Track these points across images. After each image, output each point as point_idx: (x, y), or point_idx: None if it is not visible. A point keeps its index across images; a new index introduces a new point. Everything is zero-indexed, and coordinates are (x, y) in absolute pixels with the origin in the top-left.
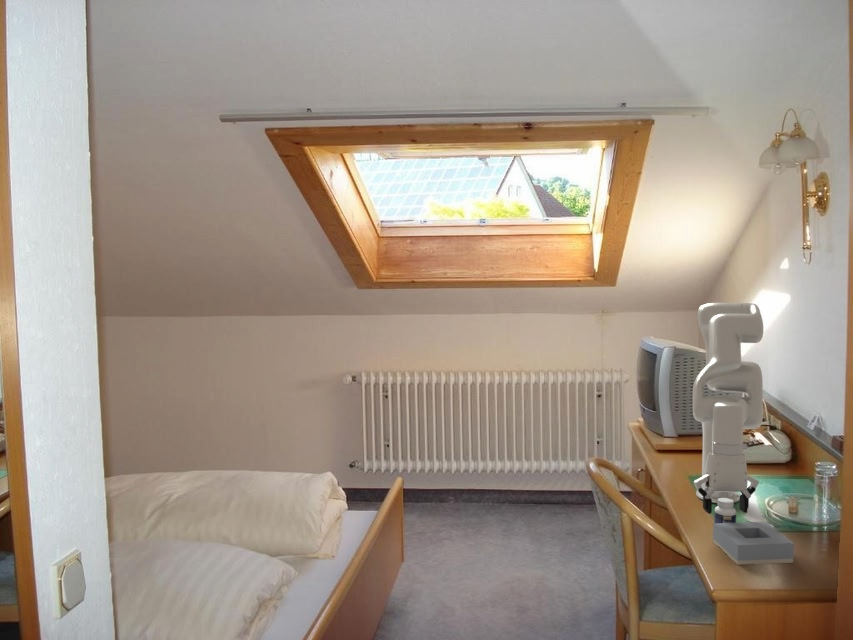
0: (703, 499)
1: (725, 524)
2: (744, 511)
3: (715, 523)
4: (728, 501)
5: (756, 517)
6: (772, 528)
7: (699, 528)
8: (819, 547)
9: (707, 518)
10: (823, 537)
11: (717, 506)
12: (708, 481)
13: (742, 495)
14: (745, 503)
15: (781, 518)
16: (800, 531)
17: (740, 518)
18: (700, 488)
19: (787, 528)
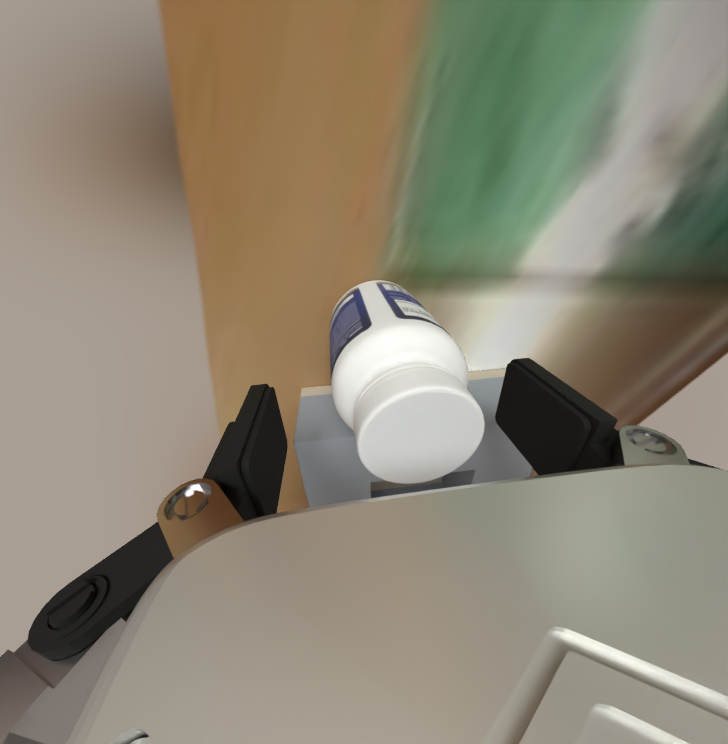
0: (209, 477)
1: (350, 449)
2: (498, 424)
3: (305, 441)
4: (429, 461)
5: (715, 29)
6: (523, 472)
7: (278, 231)
8: (621, 414)
9: (382, 13)
10: (717, 342)
11: (358, 375)
12: (210, 633)
13: (589, 465)
14: (536, 463)
15: None
16: (706, 284)
17: (603, 42)
18: (84, 680)
19: (693, 246)
